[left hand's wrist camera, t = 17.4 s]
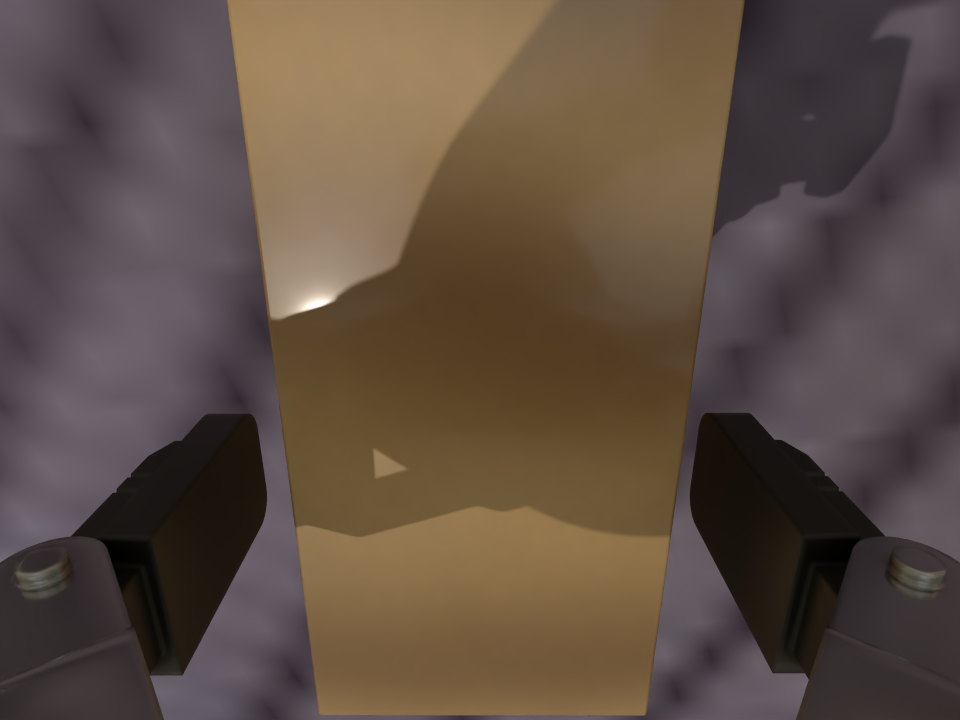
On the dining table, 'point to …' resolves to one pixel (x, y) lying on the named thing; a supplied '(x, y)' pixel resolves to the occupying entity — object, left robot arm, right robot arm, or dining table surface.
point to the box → (484, 330)
